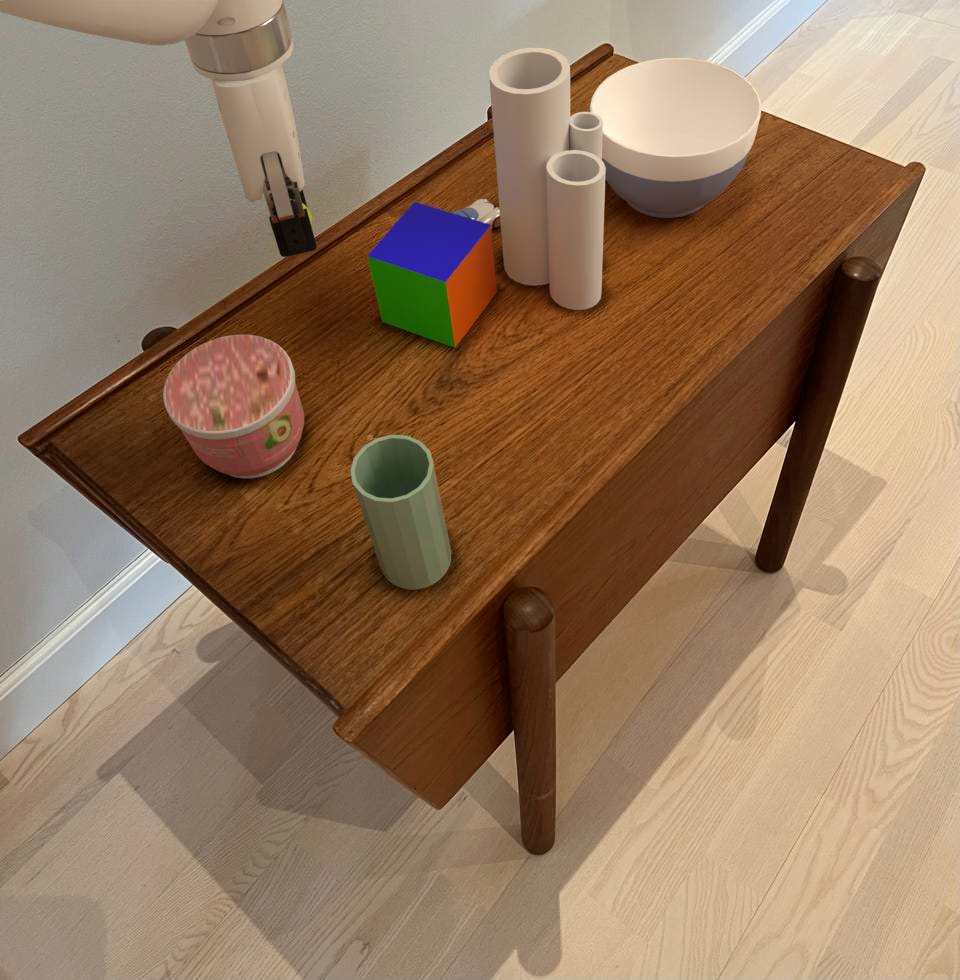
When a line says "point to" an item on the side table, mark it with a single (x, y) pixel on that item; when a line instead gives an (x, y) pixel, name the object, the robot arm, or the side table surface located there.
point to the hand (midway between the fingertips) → (295, 234)
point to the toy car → (482, 212)
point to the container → (237, 404)
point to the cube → (434, 273)
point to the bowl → (675, 132)
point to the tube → (402, 510)
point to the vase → (548, 178)
